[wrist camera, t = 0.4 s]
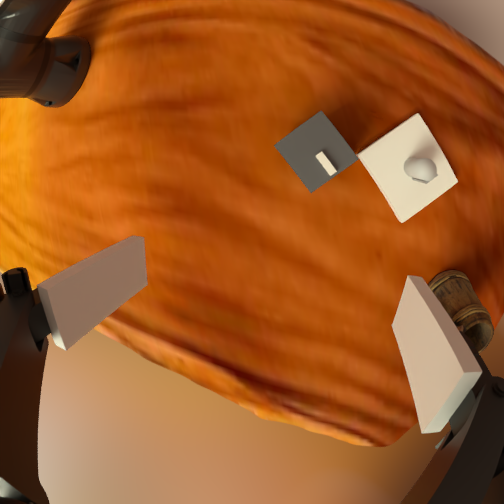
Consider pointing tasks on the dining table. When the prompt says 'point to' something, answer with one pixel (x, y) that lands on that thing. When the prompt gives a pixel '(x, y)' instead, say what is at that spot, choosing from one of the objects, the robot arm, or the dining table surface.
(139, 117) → the dining table surface
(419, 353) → the robot arm
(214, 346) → the dining table surface
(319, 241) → the dining table surface
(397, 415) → the dining table surface
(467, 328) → the wooden mug
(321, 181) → the grey rectangular block
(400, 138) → the white peg base
